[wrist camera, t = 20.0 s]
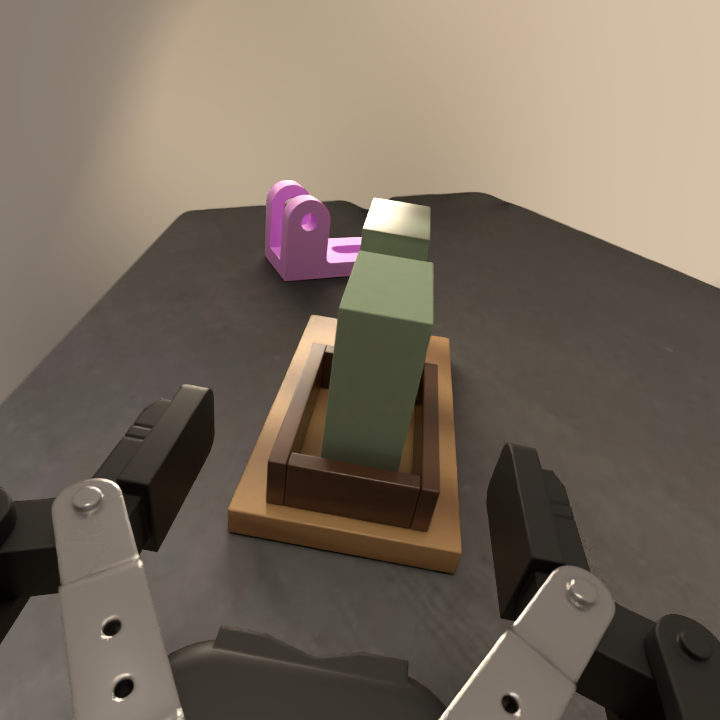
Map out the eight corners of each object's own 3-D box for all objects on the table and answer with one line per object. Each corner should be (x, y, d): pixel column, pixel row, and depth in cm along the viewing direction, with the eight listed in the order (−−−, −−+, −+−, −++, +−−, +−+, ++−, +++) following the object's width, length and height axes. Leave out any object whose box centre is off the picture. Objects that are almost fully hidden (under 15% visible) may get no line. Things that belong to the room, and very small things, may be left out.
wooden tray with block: (453, 574, 22) (530, 377, 16) (227, 532, 22) (223, 323, 17) (444, 355, 37) (482, 213, 31) (309, 331, 37) (322, 186, 32)
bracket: (284, 281, 44) (289, 200, 40) (264, 255, 48) (267, 179, 44) (412, 270, 49) (426, 198, 46) (384, 248, 53) (396, 180, 50)
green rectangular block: (392, 494, 23) (433, 324, 18) (317, 481, 23) (338, 307, 19) (399, 413, 28) (433, 262, 23) (337, 402, 28) (358, 249, 24)
